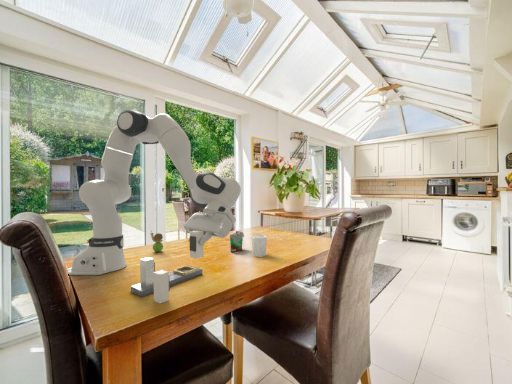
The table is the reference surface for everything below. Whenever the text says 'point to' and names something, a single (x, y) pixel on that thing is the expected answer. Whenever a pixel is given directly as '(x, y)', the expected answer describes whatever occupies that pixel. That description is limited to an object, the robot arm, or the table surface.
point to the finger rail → (171, 282)
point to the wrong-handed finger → (161, 286)
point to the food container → (236, 241)
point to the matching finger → (196, 244)
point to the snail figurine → (157, 242)
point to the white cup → (259, 245)
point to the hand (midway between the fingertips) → (195, 243)
